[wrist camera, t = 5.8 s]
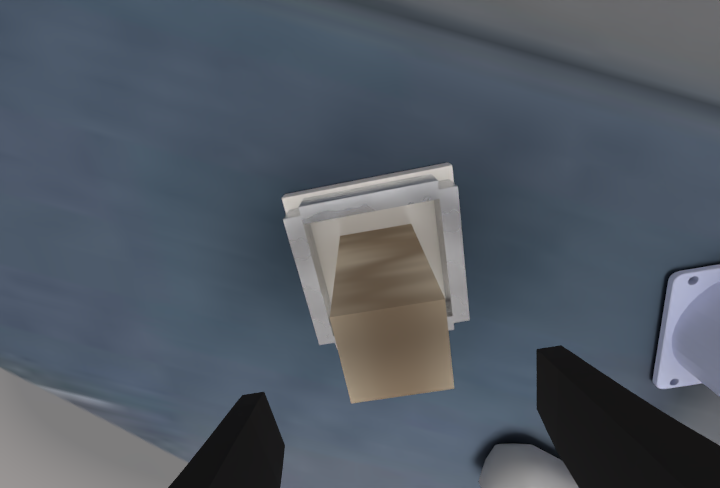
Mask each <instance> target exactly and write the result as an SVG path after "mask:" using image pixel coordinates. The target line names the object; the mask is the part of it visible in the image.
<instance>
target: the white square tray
mask: <svg viewBox="0 0 720 488" xmlns="http://www.w3.org/2000/svg"><path fill="white" fill-rule="evenodd" d="M431 200H434V205H435V214H436V223H437V231H438V240H439V248H440V257H441V266H442V274H443V283H444V291H445V303H446V312H447V322H448V330H454V323H456V322H462V321H468V320H470V318H469V306H468V295H467V284H466V272H465V261H464V250H463V239H462V227H461V216H460V205H459V193H458V186H457V185H456V184H455V183H453V182H452V181H451V180H450V179H447V180H441V181H438V180H437V179H436V178H435V177H434V176H433V175H432V174H427V175H422V176H417V177H412V178H406V179H401V180H396V181H391V182H386V183H381V184H375V185H370V186H365V187H360V188H355V189H350V190H344V191H339V192H334V193H329V194H324V195H318V196H313V197H308V198H303V200H302V202H301V204H300V205H299V208H295V209H290V210H289V211H288V212H287V214H286V215H285V217H284V219H283V221H284V225H285V228H286V232H287V235H288V239H289V242H290V245H291V249H292V252H293V256H294V259H295V263H296V266H297V270H298V273H299V276H300V280H301V283H302V287H303V290H304V294H305V297H306V301H307V304H308V307H309V311H310V314H311V318H312V321H313V325H314V328H315V332H316V335H317V338H318V342H319V345H323V344H329V343H335V345H336V341H335V337H334V333H333V329H332V325H331V321H330V311H331V302H330V298H329V294H328V291H327V287H326V283H325V279H324V275H323V271H322V268H321V264H320V260H319V256H318V252H317V248H316V245H315V241H314V237H313V233H312V229H311V225H310V223H314V222H320V221H325V220H330V219H336V218H341V217H346V216H352V215H357V214H362V213H367V212H373V211H378V210H383V209H389V208H394V207H399V206H405V205H410V204H415V203H421V202H426V201H431ZM336 349H337V345H336Z"/></svg>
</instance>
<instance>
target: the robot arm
mask: <svg viewBox="0 0 720 488" xmlns="http://www.w3.org/2000/svg"><path fill="white" fill-rule="evenodd" d="M690 278H691V279H690ZM689 279H690V280H689ZM652 381H653V383H654V385H656V386H657V387H658V388H660V389H667V388H674V387H681V386H688V385H695V384H701V383H703V384H704V385H706V386H707V387H708V388H709V389H711V390H712V391H713V392H714V393H715V394H717V395H718V396H719V397H720V264H718V265H712V266H706V267H700V268H694V269H688V270H682V271H678V272H675V273H673V274H672V275H671V276H670V277H669V280H668V285H667V291H666V298H665V304H664V310H663V317H662V323H661V329H660V336H659V342H658V348H657V355H656V361H655V367H654V374H653V380H652ZM537 410H538V412H539V415H540V417H541V419H542V421H543V423H544V425H545V428H546V430H547V432H548V434H549V436H550V438H551V440H552V442H553V444H554V446H555V448H556V450H557V452H558V454H559V455H560V457H561V459H562V461H563V462H564V464H565V466H566V467H567V469H568V470H569V472H570V474H571V475H572V477H573V479H574V480H575V482H576V484H577V485H578V487H579V488H720V446H719V445H718V444H716V443H714V442H712V441H711V440H709V439H707V438H706V437H704V436H702V435H700V434H699V433H697V432H695V431H694V430H692V429H690V428H688V427H687V426H685V425H683V424H682V423H680V422H678V421H677V420H675V419H674V418H672V417H670V416H669V415H667V414H665V413H664V412H662V411H660V410H659V409H657V408H656V407H654V406H652V405H651V404H649V403H648V402H646V401H645V400H643V399H641V398H640V397H638V396H637V395H635V394H634V393H632V392H630V391H629V390H627V389H626V388H624V387H623V386H621V385H620V384H618V383H617V382H615V381H614V380H612V379H611V378H609V377H608V376H606V375H605V374H603V373H602V372H600V371H599V370H597V369H596V368H594V367H593V366H591V365H590V364H588V363H587V362H585V361H584V360H582V359H581V358H579V357H578V356H576V355H575V354H573V353H572V352H570V351H569V350H567V349H566V348H564V347H563V346H555V347H548V348H542V349H537ZM284 448H285V445H284V442H283V439H282V437H281V434H280V432H279V429H278V426H277V424H276V421H275V419H274V416H273V413H272V411H271V408H270V406H269V403H268V401H267V398H266V395H265V393H264V392H260V393H253V394H247V395H242V396H241V398H240V399H239V400H238V401H237V402H236V404H235V405H234V406H233V407H232V409H231V410H230V411H229V413H228V414H227V415H226V416H225V418H224V419H223V420H222V422H221V423H220V424H219V425H218V427H217V428H216V429H215V431H214V432H213V433H212V434H211V436H210V437H209V438H208V440H207V441H206V442H205V443H204V445H203V446H202V447H201V448H200V450H199V451H198V452H197V453H196V455H195V456H194V457H193V458H192V460H191V461H190V462H189V463H188V465H187V466H186V467H185V468H184V470H183V471H182V472H181V473H180V475H179V476H178V477H177V478H176V479H175V480H174V481H173V483H172V484H171V485H170V486H169V487H168V488H280V484H281V476H282V468H283V458H284Z"/></svg>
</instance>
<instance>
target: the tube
mask: <svg viewBox="0 0 720 488" xmlns="http://www.w3.org/2000/svg"><path fill="white" fill-rule="evenodd" d="M479 484H480V486H481V488H579V487H578V485H577V484H576V482H575V480H574V479H573V477H572V475H571V474H570V472H569V470H568V469H567V467H566V466H565V464H564V462H563V461H562V460H560V459H558V458H556V457H555V456H553V455H551V454H549V453H547V452H545V451H543V450H541V449H539V448H537V447H536V446H534V445H531V444H517V443H506V444H497V445H495V446H494V448H493V449H492V450H491V452H490V453H489V455H488V456H487V458H486V459H485V462H484V466H483V469H482V472H481V475H480V478H479Z"/></svg>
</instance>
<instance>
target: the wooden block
mask: <svg viewBox="0 0 720 488" xmlns="http://www.w3.org/2000/svg"><path fill="white" fill-rule="evenodd" d="M330 321H331V325H332V329H333V333H334V337H335V341H336V345H337V349H338V353H339V357H340V361H341V365H342V369H343V373H344V376H345V380H346V384H347V388H348V392H349V396H350V400H351V403H357V402H364V401H371V400H378V399H385V398H392V397H399V396H406V395H413V394H420V393H427V392H434V391H441V390H448V389H454V381H453V371H452V361H451V352H450V342H449V332H448V322H447V312H446V303H445V298H444V296H443V293H442V291H441V289H440V287H439V284H438V282H437V280H436V278H435V276H434V273H433V271H432V269H431V267H430V264H429V262H428V260H427V258H426V256H425V253H424V251H423V249H422V247H421V245H420V242H419V240H418V238H417V236H416V233H415V231H414V229H413V227H412V225H411V224H406V225H400V226H394V227H389V228H383V229H377V230H371V231H365V232H360V233H354V234H348V235H342V236H340V240H339V248H338V256H337V264H336V272H335V279H334V287H333V295H332V303H331V311H330Z"/></svg>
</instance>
